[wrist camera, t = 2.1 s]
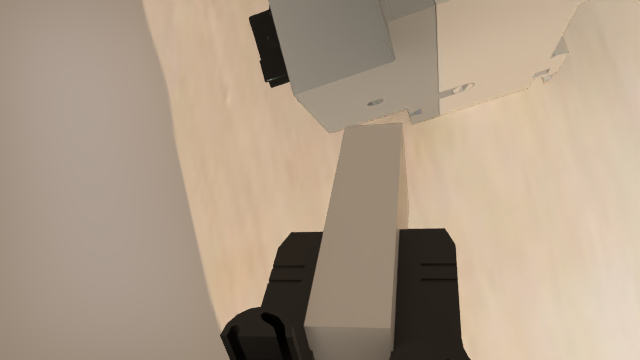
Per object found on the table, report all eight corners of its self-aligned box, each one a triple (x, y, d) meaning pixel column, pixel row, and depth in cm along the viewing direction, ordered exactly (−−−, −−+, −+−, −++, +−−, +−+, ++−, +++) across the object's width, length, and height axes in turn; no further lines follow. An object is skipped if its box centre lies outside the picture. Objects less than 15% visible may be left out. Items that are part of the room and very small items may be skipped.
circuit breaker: (286, 44, 35) (176, -102, 21) (509, -35, 33) (560, -263, 18) (315, 154, 34) (220, 80, 19) (551, 81, 31) (642, -68, 17)
